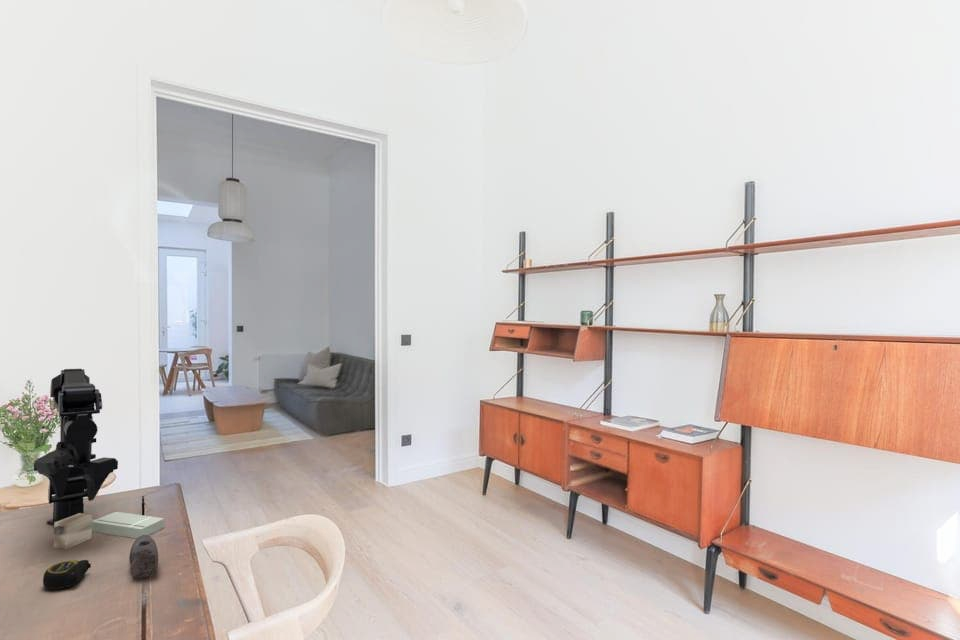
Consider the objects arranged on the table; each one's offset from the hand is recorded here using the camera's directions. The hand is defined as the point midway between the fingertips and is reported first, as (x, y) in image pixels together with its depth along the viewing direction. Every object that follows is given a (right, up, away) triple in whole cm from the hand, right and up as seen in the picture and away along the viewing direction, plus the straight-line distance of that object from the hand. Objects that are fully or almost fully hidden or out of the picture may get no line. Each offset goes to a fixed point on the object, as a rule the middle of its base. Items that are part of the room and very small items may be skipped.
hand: (75, 498), depth 120 cm
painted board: (+7, -11, +8) cm, 16 cm away
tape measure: (+13, -12, -17) cm, 25 cm away
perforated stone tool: (+24, -12, -11) cm, 29 cm away
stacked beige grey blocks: (-1, -11, 0) cm, 11 cm away
